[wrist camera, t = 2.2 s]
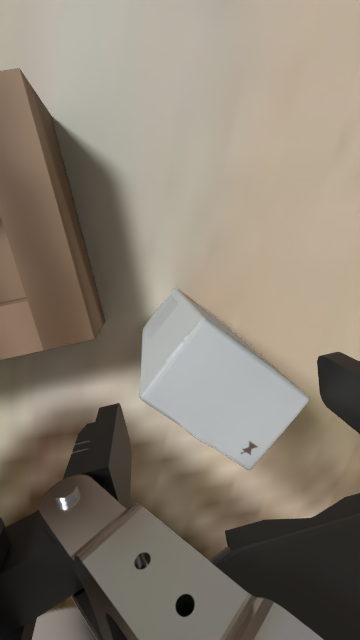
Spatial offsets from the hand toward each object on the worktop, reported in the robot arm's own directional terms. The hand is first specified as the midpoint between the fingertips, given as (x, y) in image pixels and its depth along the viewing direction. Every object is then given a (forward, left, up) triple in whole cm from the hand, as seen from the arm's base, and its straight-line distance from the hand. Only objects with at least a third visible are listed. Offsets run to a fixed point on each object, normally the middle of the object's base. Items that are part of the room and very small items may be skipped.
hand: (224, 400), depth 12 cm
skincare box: (0, 0, -12) cm, 12 cm away
